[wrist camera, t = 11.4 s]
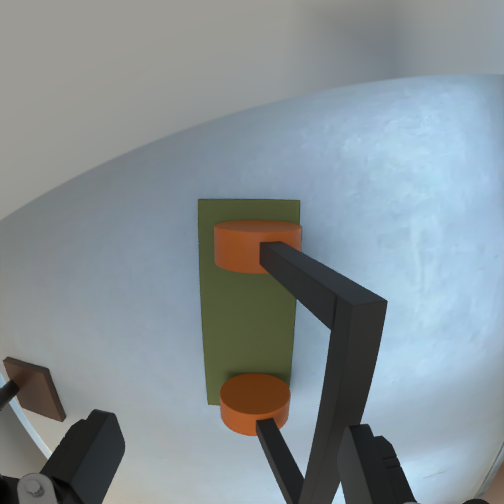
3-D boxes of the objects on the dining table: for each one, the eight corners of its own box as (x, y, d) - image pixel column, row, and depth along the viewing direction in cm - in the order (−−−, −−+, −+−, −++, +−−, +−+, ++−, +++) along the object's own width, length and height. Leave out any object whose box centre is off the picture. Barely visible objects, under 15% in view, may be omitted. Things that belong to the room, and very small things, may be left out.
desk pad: (198, 199, 25) (197, 199, 24) (299, 200, 24) (300, 200, 24) (208, 402, 29) (207, 404, 29) (287, 404, 29) (287, 407, 28)
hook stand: (87, 378, 29) (8, 481, 12) (103, 427, 31) (48, 526, 14) (5, 356, 29) (-72, 422, 13) (23, 402, 31) (-38, 471, 15)
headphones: (215, 397, 27) (262, 544, 12) (209, 220, 24) (282, 295, 8) (276, 389, 29) (352, 518, 13) (284, 219, 25) (437, 276, 10)
